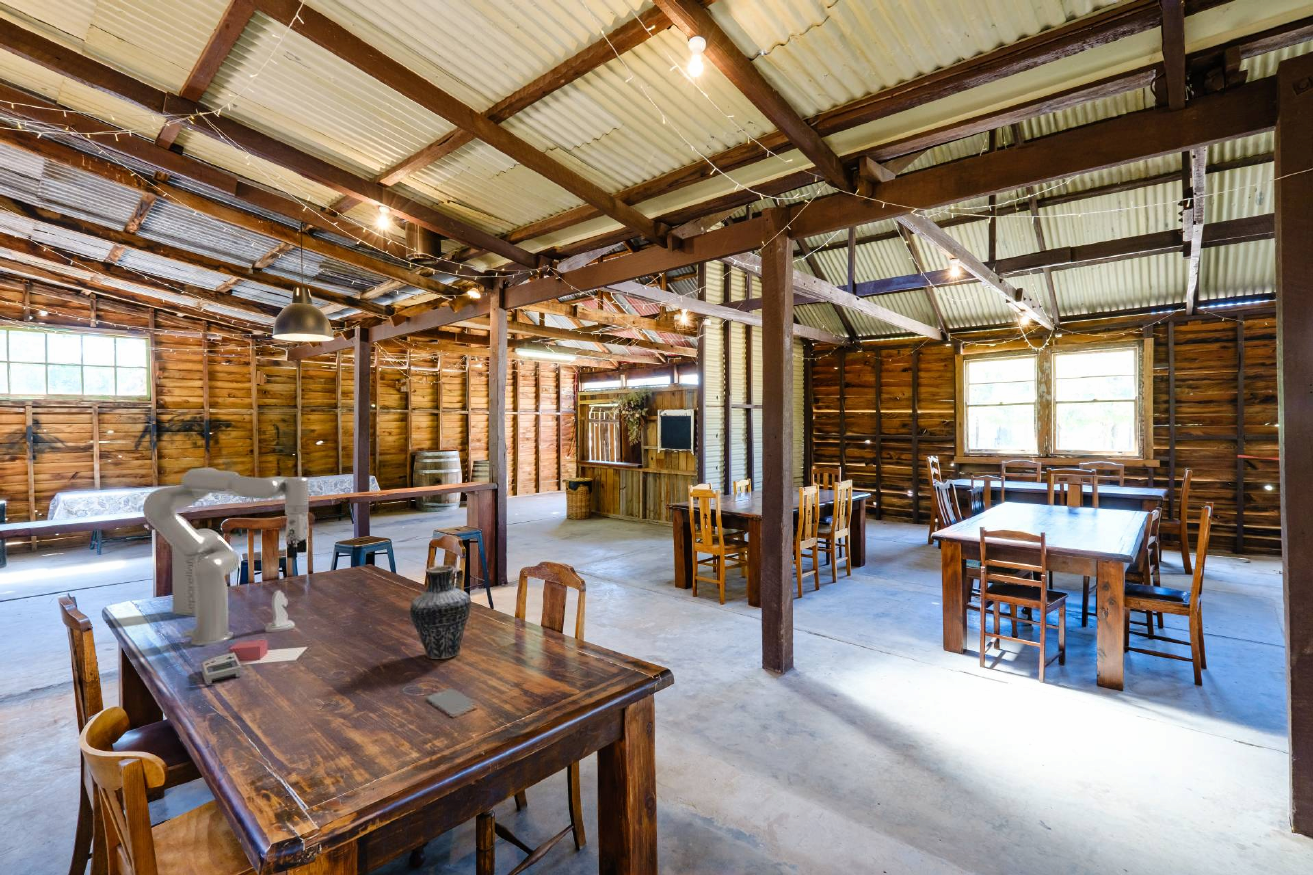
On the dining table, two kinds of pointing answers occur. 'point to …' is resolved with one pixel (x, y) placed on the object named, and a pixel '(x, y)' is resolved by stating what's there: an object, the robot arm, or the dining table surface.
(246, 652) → the card box
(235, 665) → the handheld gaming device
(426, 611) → the jug
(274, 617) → the chess piece
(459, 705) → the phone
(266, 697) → the dining table surface
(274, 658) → the mat
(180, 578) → the brochure
